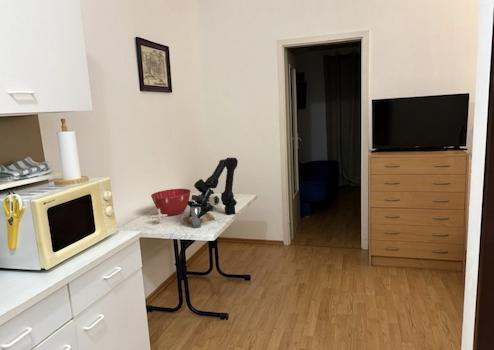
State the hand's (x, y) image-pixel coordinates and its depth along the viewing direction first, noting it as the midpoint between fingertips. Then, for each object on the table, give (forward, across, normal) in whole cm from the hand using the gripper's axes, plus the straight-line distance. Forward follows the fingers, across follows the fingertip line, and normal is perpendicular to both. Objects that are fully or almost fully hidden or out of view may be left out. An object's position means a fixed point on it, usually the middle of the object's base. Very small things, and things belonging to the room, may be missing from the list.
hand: (194, 217), depth 235 cm
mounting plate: (-5, -10, +14) cm, 18 cm away
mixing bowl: (-8, -42, +18) cm, 46 cm away
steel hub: (+4, 0, +6) cm, 7 cm away
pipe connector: (+8, -29, +2) cm, 30 cm away
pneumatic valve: (-20, -19, +30) cm, 41 cm away
